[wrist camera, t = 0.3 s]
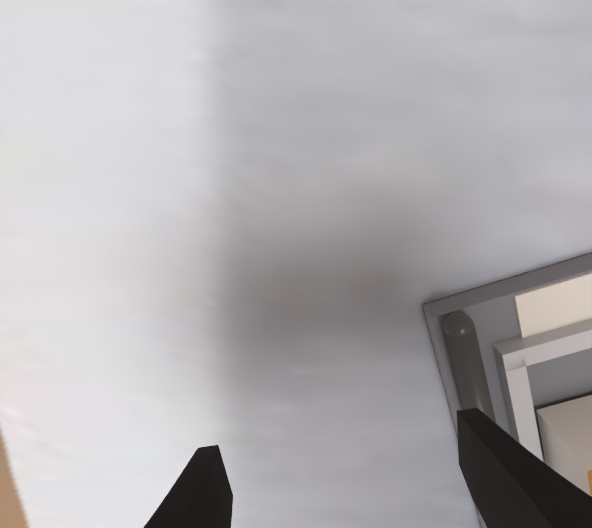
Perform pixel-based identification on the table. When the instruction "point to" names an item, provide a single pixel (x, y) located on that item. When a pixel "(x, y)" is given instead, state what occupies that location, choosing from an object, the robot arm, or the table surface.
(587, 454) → the orange-faced white block
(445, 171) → the table surface
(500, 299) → the panel
